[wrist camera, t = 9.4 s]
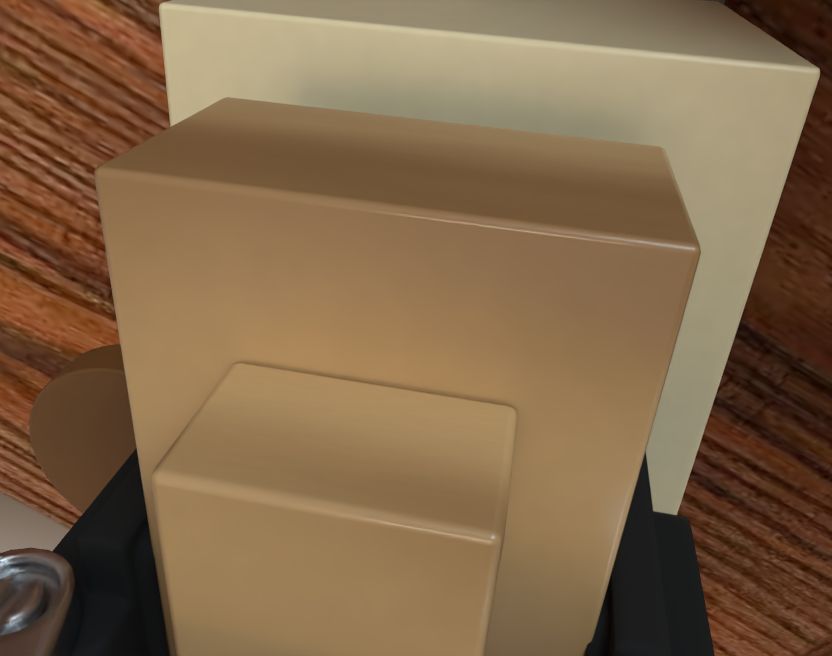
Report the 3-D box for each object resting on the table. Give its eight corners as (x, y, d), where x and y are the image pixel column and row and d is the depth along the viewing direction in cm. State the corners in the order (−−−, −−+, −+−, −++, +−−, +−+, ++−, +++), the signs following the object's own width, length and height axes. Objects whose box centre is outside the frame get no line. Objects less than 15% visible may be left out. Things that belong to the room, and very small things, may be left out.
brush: (272, 67, 9) (-56, 245, 4) (653, 109, 8) (747, 363, 4) (290, 654, 15) (153, 1012, 10) (521, 703, 14) (494, 1108, 9)
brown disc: (249, 362, 12) (230, 390, 11) (255, 527, 14) (238, 560, 13) (40, 326, 12) (8, 351, 12) (72, 491, 14) (47, 521, 13)
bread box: (753, 0, 14) (883, 69, 8) (623, 482, 20) (644, 722, 14) (316, -39, 15) (151, -3, 9) (316, 429, 21) (217, 634, 15)
